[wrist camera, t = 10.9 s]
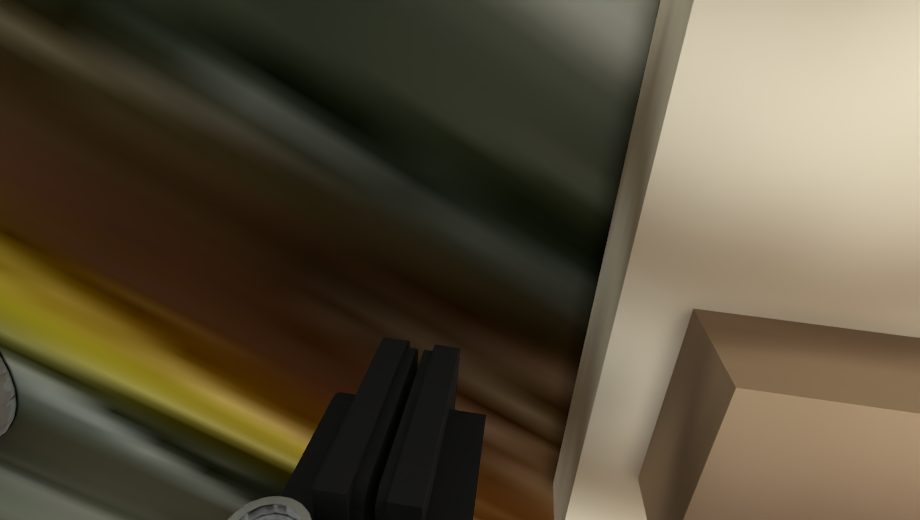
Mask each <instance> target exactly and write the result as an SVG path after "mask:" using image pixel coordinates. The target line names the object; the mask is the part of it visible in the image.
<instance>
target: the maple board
mask: <svg viewBox="0 0 920 520" xmlns="http://www.w3.org/2000/svg"><path fill="white" fill-rule="evenodd" d="M693 309H701V310H709V311H716V312H724V313H732V314H740V315H747V316H755V317H763V318H770V319H778V320H786V321H794V322H801V323H809V324H817V325H824V326H832V327H840V328H848V329H855V330H863V331H871V332H878V333H886V334H894V335H902V336H909V337H917V338H920V0H660V5H659V9H658V14H657V18H656V23H655V27H654V32H653V36H652V41H651V45H650V50H649V54H648V59H647V63H646V68H645V72H644V77H643V81H642V86H641V90H640V95H639V99H638V104H637V108H636V113H635V117H634V122H633V126H632V131H631V135H630V140H629V144H628V149H627V153H626V158H625V162H624V167H623V171H622V176H621V180H620V185H619V189H618V194H617V198H616V203H615V207H614V212H613V216H612V221H611V225H610V230H609V234H608V239H607V243H606V248H605V252H604V257H603V261H602V266H601V270H600V275H599V279H598V284H597V288H596V293H595V297H594V302H593V306H592V311H591V315H590V320H589V324H588V329H587V333H586V338H585V342H584V347H583V351H582V356H581V360H580V365H579V369H578V374H577V378H576V383H575V387H574V392H573V396H572V401H571V405H570V410H569V414H568V419H567V423H566V428H565V432H564V437H563V441H562V446H561V450H560V455H559V459H558V464H557V468H556V473H555V477H554V482H553V501H554V520H647V517H646V513H645V508H644V504H643V499H642V495H641V490H640V486H639V481H638V477H639V474H640V471H641V468H642V465H643V462H644V459H645V456H646V453H647V450H648V446H649V443H650V440H651V437H652V434H653V431H654V428H655V425H656V422H657V419H658V416H659V413H660V410H661V407H662V403H663V400H664V397H665V394H666V391H667V388H668V385H669V382H670V379H671V376H672V373H673V370H674V367H675V364H676V360H677V357H678V354H679V351H680V348H681V345H682V342H683V339H684V336H685V333H686V330H687V327H688V324H689V321H690V318H691V314H692V311H693Z"/></svg>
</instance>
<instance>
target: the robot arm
mask: <svg viewBox="0 0 920 520" xmlns="http://www.w3.org/2000/svg"><path fill="white" fill-rule="evenodd" d="M459 355H460V348H455V347H448V346H441V345H435V346H434V349H433V351H429V350H424V352H423V355H422V358H421V361H420V364H419V367H418V370H417V360H418V350H417V349H415V348H410V343H409V341H406V340H399V339H392V338H383V340H382V341H381V344H380V346H379V348H378V350H377V352H376V354H375V356H374V358H373V360H372V363H371V365H370V367H369V369H368V371H367V373H366V375H365V377H364V379H363V382H362V384H361V386H360V388H359V390H358V392H357V394H356V395H353V394H346V393H340V392H338V393H337V394H335V396H334V397H333V399H332V401H331V402H330V404H329V406H328V408H327V410H326V412H325V414H324V416H323V417H322V419H321V421H320V423H319V425H318V427H317V429H316V431H315V433H314V434H313V436H312V438H311V440H310V442H309V444H308V446H307V448H306V450H305V451H304V453H303V455H302V457H301V459H300V461H299V463H298V465H297V466H296V468H295V470H294V472H293V474H292V476H291V478H290V480H289V482H288V483H287V485H286V487H285V489H284V491H283V493H282V495H281V496H274V497H264V498H261V499H259V500H256V501H253V502H250V503H248V504H247V505H245V506H244V507H242V508H240V509H239V510H237V511H236V512H235V513H234V514H233V515H232V516H231V517H230V518H229V519H228V520H473V514H474V506H475V498H476V490H477V482H478V474H479V466H480V458H481V450H482V442H483V434H484V426H485V418H486V415H483V414H477V413H470V412H464V411H457V410H455V399H456V388H457V377H458V366H459Z"/></svg>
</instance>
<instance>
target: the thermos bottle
mask: <svg viewBox="0 0 920 520" xmlns="http://www.w3.org/2000/svg"><path fill="white" fill-rule="evenodd" d="M15 410H16V396H15V389H14V386H13V383H12V380H11V377H10V374H9V371H8V370H7V368H6V366H5V364H4V362H3V361H2V359H1V357H0V436H1V435H2V434H4V433H5V432H6V431H7V430H8V428H9V426H10V424H11V422H12V421H13V419H14V416H15Z"/></svg>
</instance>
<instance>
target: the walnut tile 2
mask: <svg viewBox="0 0 920 520" xmlns="http://www.w3.org/2000/svg"><path fill="white" fill-rule="evenodd" d="M638 481H639V486H640V490H641V495H642V499H643V504H644V508H645V513H646V517H647V520H920V338H917V337H909V336H902V335H894V334H886V333H878V332H871V331H863V330H855V329H848V328H840V327H832V326H824V325H817V324H809V323H801V322H794V321H786V320H778V319H770V318H763V317H755V316H747V315H740V314H732V313H724V312H716V311H709V310H701V309H693V311H692V314H691V318H690V321H689V324H688V327H687V330H686V333H685V336H684V339H683V342H682V345H681V348H680V351H679V354H678V357H677V360H676V364H675V367H674V370H673V373H672V376H671V379H670V382H669V385H668V388H667V391H666V394H665V397H664V400H663V403H662V407H661V410H660V413H659V416H658V419H657V422H656V425H655V428H654V431H653V434H652V437H651V440H650V443H649V446H648V450H647V453H646V456H645V459H644V462H643V465H642V468H641V471H640V474H639V477H638Z"/></svg>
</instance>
